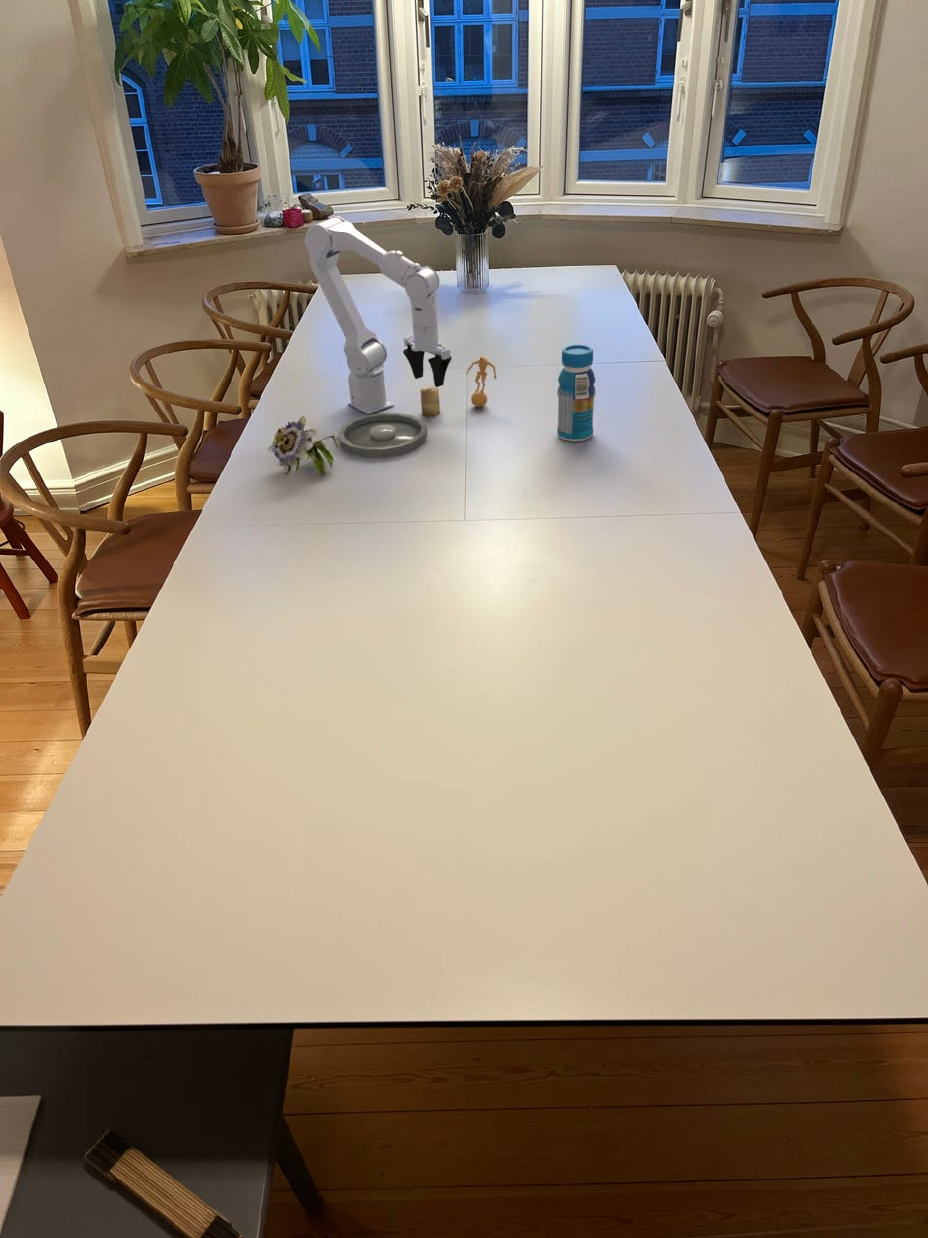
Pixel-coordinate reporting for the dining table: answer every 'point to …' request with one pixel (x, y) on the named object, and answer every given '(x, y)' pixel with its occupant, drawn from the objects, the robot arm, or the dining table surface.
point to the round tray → (387, 448)
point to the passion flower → (299, 447)
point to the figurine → (479, 396)
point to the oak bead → (430, 401)
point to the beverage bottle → (576, 394)
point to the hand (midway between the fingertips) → (428, 381)
